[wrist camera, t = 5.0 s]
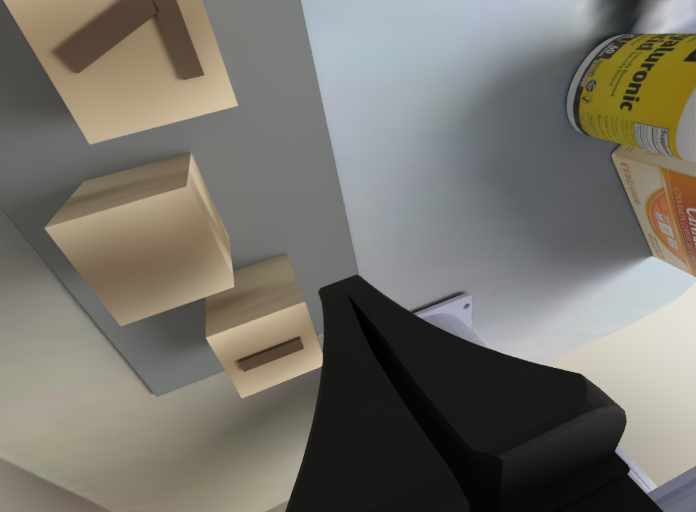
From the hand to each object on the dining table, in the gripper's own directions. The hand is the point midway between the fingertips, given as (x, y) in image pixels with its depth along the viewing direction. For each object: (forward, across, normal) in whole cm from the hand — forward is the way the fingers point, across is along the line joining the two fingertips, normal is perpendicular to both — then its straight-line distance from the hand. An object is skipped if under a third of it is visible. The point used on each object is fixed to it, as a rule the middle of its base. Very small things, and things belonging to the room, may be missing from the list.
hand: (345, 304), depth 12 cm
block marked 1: (+9, +4, +5) cm, 11 cm away
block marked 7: (+8, +3, -8) cm, 12 cm away
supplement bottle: (+9, -20, -1) cm, 22 cm away
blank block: (+9, +6, -2) cm, 11 cm away
